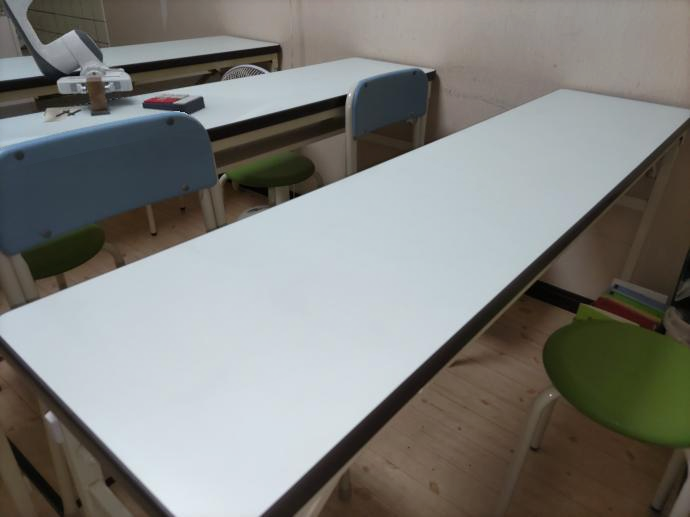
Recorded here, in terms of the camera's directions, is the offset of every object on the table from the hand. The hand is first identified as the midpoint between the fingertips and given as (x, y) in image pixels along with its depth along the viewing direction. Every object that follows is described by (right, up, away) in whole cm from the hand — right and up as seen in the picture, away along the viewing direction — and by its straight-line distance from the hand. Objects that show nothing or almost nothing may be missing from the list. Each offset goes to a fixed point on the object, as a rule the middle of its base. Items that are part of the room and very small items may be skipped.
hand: (95, 90), depth 147 cm
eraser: (-1, -5, +4) cm, 6 cm away
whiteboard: (-5, -7, +3) cm, 9 cm away
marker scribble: (-8, -6, +1) cm, 11 cm away
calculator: (+19, -3, +11) cm, 22 cm away
